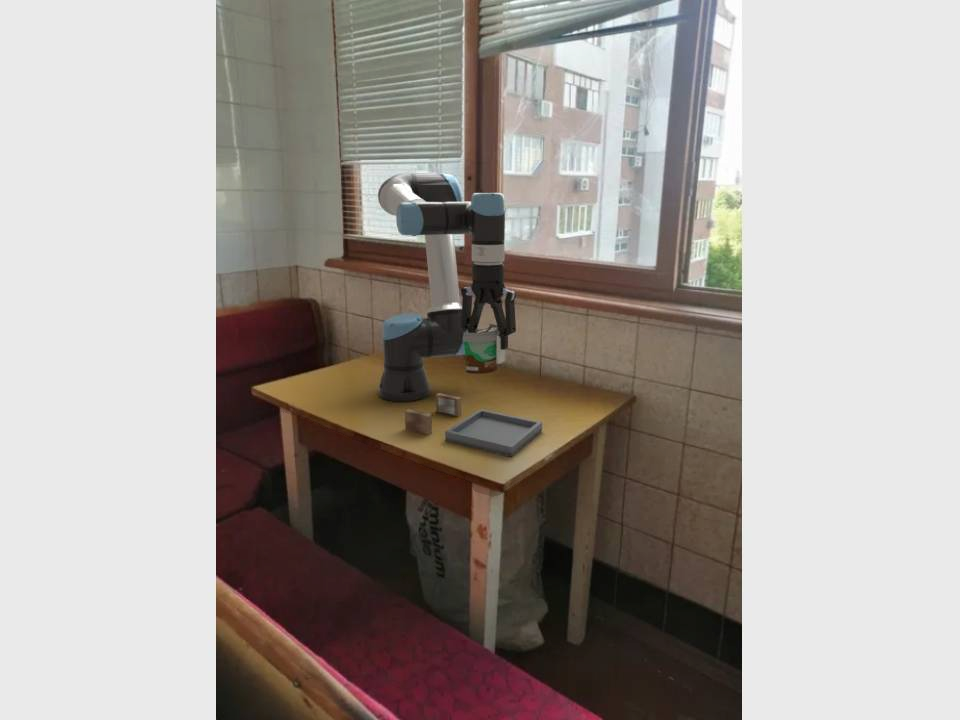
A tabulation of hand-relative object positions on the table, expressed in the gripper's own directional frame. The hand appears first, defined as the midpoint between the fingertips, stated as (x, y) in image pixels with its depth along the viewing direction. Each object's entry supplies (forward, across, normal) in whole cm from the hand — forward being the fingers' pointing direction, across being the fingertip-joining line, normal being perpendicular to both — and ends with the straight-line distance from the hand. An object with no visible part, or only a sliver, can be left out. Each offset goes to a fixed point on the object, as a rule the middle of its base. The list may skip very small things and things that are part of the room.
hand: (488, 360), depth 140 cm
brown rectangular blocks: (+19, -17, 0) cm, 25 cm away
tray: (+20, +1, +1) cm, 20 cm away
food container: (+3, 0, 0) cm, 3 cm away
